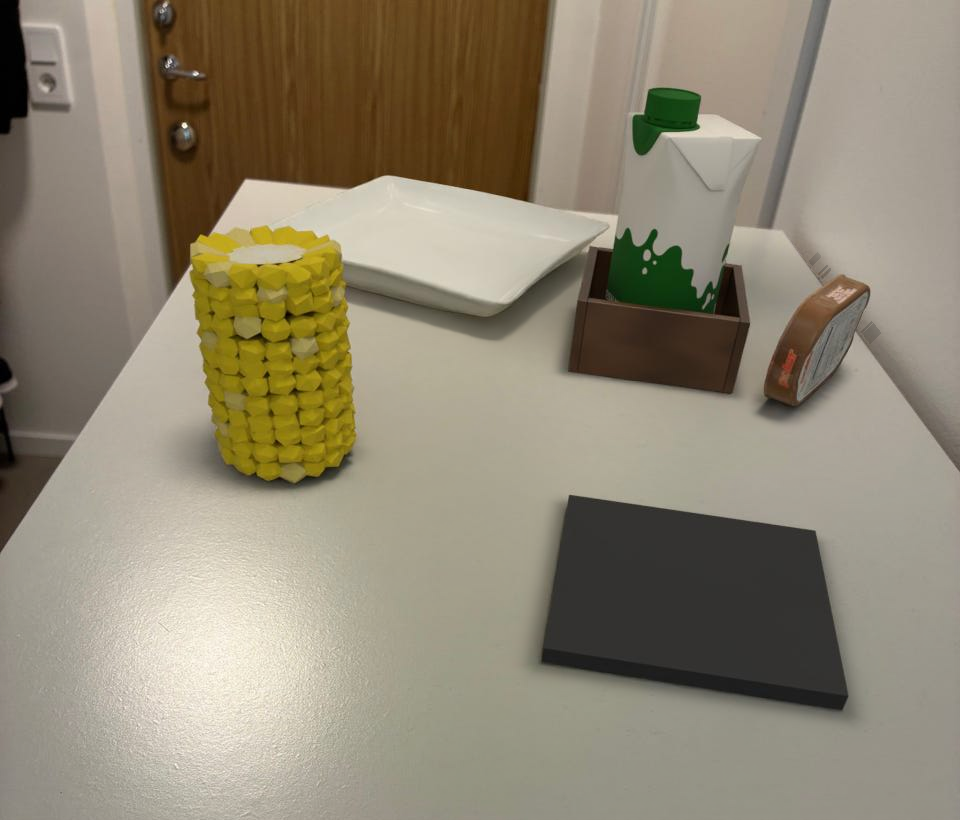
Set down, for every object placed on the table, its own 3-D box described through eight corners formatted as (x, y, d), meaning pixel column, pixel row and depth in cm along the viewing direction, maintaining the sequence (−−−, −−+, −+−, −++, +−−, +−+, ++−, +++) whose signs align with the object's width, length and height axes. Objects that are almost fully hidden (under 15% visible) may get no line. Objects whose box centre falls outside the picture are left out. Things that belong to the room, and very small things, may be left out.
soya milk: (585, 331, 88) (622, 79, 75) (676, 327, 90) (727, 82, 78) (623, 374, 82) (670, 106, 69) (720, 368, 84) (783, 108, 71)
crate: (726, 330, 91) (741, 265, 87) (732, 393, 80) (750, 322, 77) (580, 311, 92) (589, 245, 88) (567, 371, 81) (577, 299, 78)
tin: (818, 355, 88) (847, 260, 82) (852, 366, 87) (884, 270, 81) (751, 412, 78) (780, 308, 73) (788, 425, 77) (820, 320, 71)
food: (266, 522, 64) (204, 459, 70) (416, 444, 68) (344, 392, 74) (183, 301, 53) (119, 251, 59) (367, 224, 57) (288, 185, 63)
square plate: (384, 206, 112) (385, 169, 110) (609, 257, 104) (614, 219, 102) (240, 273, 93) (236, 230, 90) (501, 343, 85) (505, 298, 82)
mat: (811, 543, 64) (815, 530, 63) (843, 709, 52) (848, 695, 51) (567, 507, 65) (568, 494, 64) (541, 661, 53) (543, 647, 52)
